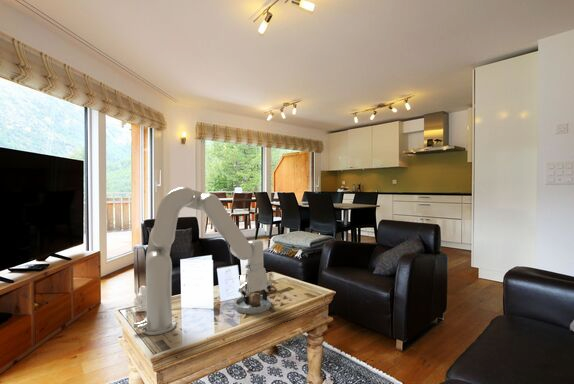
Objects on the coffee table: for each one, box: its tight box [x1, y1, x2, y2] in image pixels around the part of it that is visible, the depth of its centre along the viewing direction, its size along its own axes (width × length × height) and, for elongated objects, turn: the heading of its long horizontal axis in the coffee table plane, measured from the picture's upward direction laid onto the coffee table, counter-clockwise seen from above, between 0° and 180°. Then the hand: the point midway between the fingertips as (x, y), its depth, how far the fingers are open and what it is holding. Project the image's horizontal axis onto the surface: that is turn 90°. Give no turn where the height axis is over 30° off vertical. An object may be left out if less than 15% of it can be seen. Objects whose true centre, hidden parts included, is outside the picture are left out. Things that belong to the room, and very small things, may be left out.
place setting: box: [255, 282, 277, 295], centre depth 161 cm, size 18×20×6 cm
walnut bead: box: [251, 292, 261, 308], centre depth 139 cm, size 5×5×6 cm
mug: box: [239, 274, 246, 291], centre depth 165 cm, size 12×10×8 cm
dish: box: [232, 294, 272, 315], centre depth 142 cm, size 18×18×2 cm
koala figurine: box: [133, 285, 147, 313], centre depth 138 cm, size 8×7×12 cm
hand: (255, 301), depth 139 cm, fingers open, 9 cm apart
